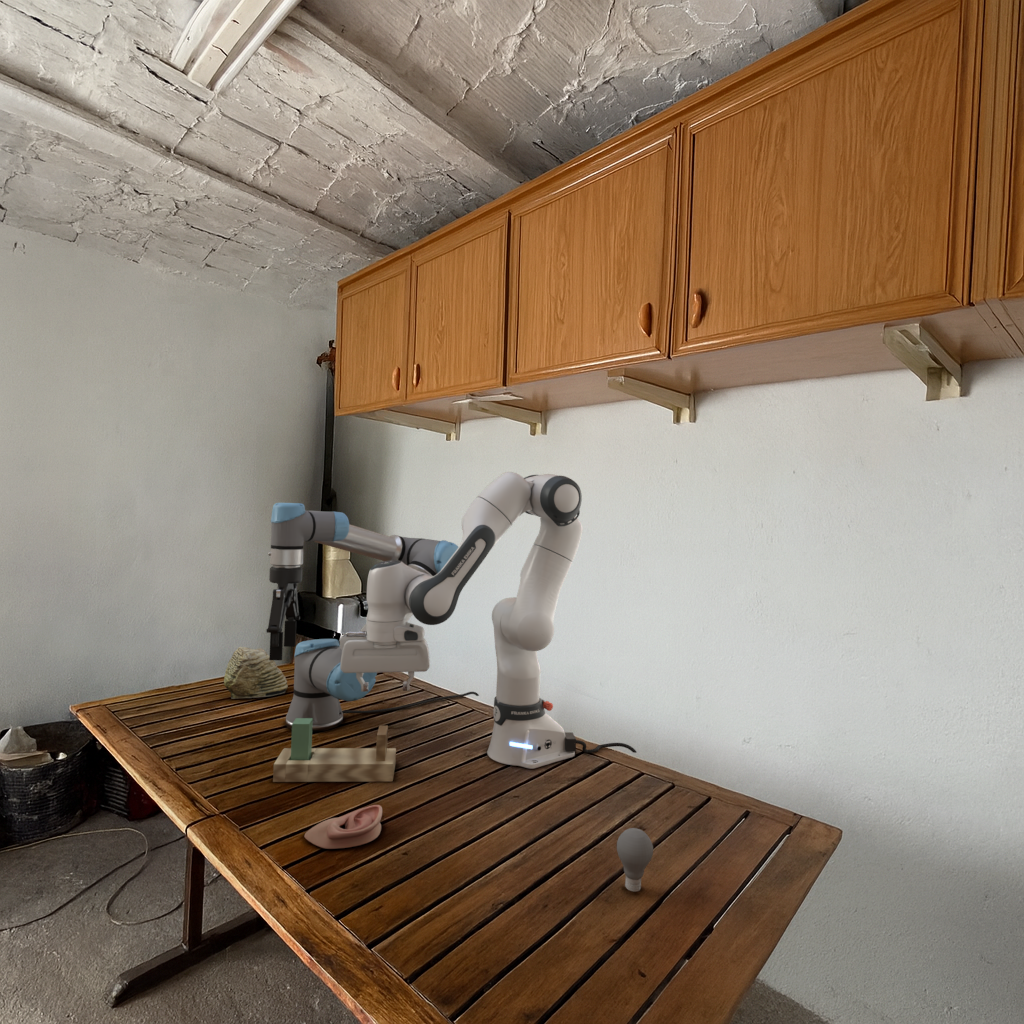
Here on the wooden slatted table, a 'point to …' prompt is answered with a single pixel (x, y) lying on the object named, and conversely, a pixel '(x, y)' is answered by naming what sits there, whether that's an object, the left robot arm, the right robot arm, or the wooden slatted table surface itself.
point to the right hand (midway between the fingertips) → (385, 690)
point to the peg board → (339, 764)
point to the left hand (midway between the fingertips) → (283, 652)
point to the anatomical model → (347, 829)
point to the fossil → (253, 675)
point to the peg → (301, 739)
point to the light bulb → (634, 856)
